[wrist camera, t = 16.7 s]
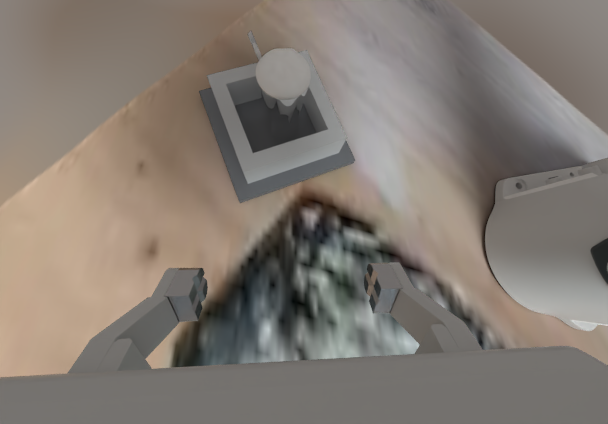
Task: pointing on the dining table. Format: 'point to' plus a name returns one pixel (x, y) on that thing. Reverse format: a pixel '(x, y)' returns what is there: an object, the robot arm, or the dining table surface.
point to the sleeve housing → (261, 144)
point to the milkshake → (281, 87)
